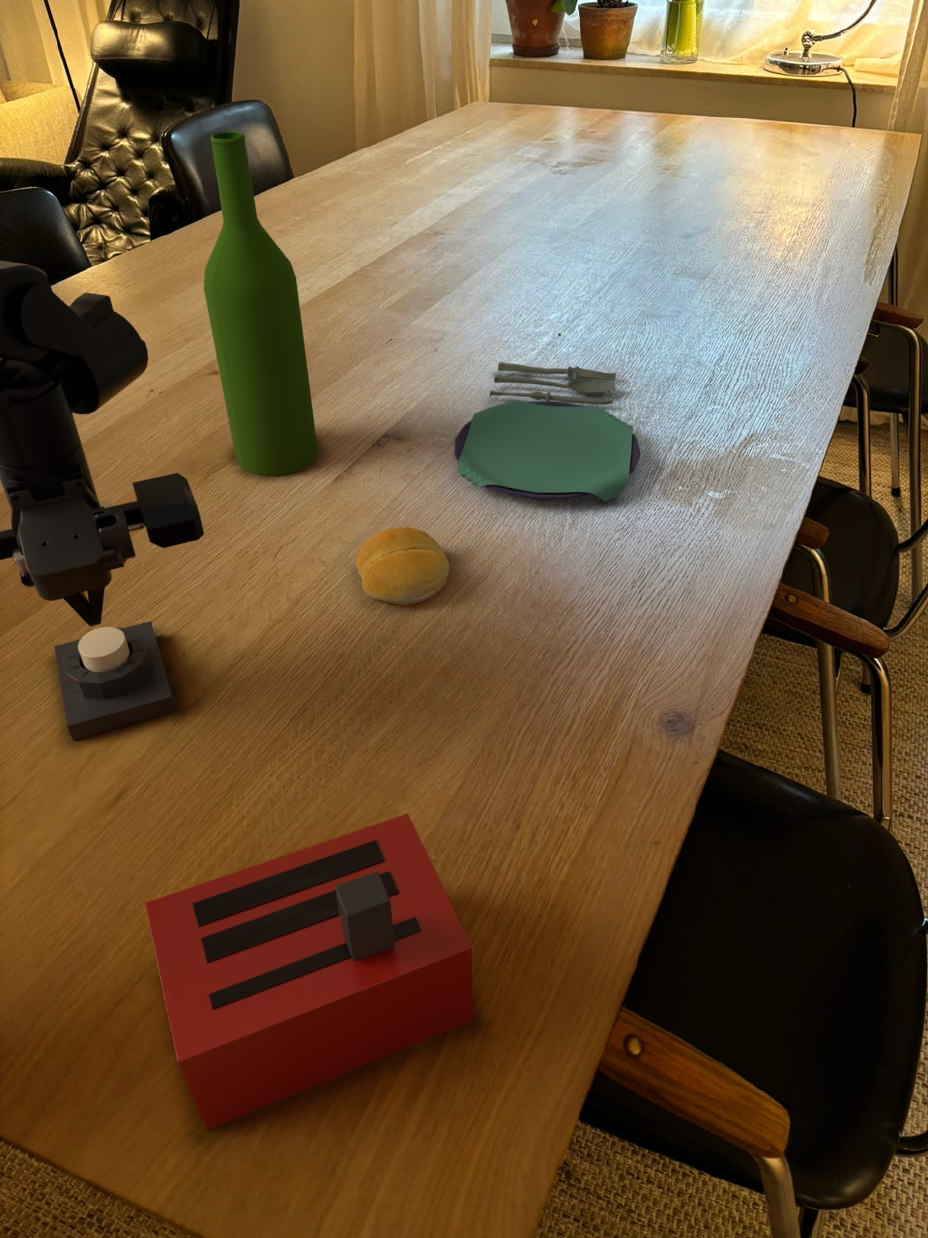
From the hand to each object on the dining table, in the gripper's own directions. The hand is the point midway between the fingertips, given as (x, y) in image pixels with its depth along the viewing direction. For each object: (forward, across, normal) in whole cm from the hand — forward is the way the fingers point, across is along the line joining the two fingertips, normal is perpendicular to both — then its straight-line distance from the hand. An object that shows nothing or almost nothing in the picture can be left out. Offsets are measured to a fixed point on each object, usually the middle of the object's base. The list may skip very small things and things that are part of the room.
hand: (94, 622), depth 77 cm
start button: (+4, 0, 0) cm, 4 cm away
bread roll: (+7, +26, +4) cm, 28 cm away
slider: (-1, +10, -36) cm, 37 cm away
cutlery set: (+7, +50, +21) cm, 55 cm away
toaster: (+7, +8, -33) cm, 35 cm away
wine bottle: (+7, +22, +30) cm, 38 cm away
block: (+7, 0, 0) cm, 7 cm away
